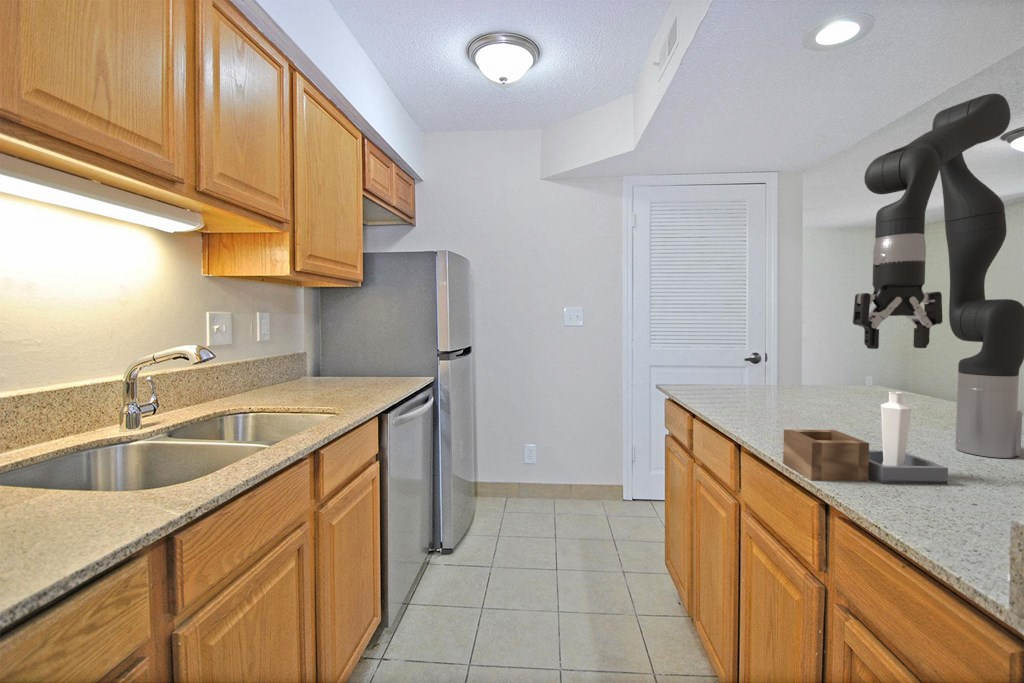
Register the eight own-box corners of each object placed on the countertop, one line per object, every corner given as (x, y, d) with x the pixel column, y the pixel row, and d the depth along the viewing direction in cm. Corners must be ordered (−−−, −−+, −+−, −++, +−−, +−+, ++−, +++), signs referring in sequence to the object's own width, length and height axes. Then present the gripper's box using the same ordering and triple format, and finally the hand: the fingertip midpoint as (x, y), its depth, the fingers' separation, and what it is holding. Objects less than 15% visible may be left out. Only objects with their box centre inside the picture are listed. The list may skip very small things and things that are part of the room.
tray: (899, 465, 94) (900, 450, 94) (947, 484, 83) (948, 468, 83) (843, 464, 95) (843, 450, 94) (882, 483, 84) (883, 467, 83)
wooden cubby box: (833, 463, 95) (834, 429, 95) (868, 480, 85) (869, 443, 85) (783, 463, 96) (783, 429, 95) (811, 480, 86) (812, 442, 85)
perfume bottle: (884, 473, 87) (886, 393, 87) (873, 466, 92) (876, 390, 91) (913, 475, 86) (916, 394, 85) (901, 468, 90) (904, 391, 89)
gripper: (922, 262, 90) (919, 346, 91) (845, 264, 91) (843, 347, 92) (956, 257, 82) (953, 349, 83) (872, 259, 83) (870, 350, 84)
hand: (896, 348), depth 87 cm, fingers open, 8 cm apart
